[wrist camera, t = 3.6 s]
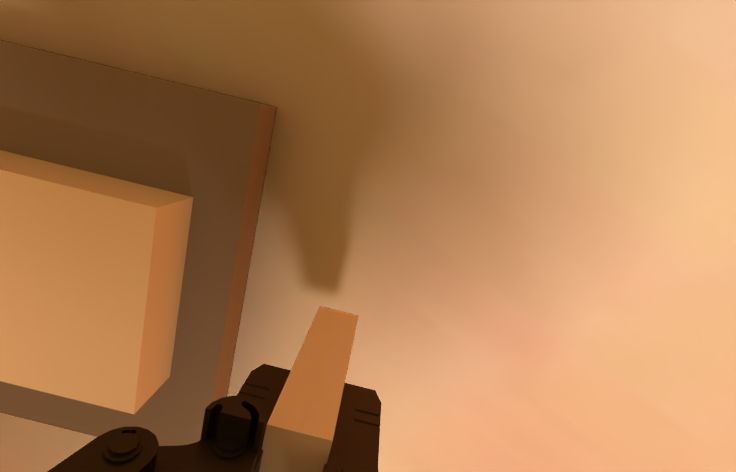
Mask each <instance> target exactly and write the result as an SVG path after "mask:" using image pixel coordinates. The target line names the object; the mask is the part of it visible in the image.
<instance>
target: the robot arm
mask: <svg viewBox="0 0 736 472" xmlns="http://www.w3.org/2000/svg"><path fill="white" fill-rule="evenodd" d="M357 320H358V316H357V315H353V314H349V313H345V312H341V311H337V310H333V309H329V308H325V307H321V306H320V307H319V309H318V311H317V314H316V316H315V318H314V320H313V322H312V325H311V327H310V329H309V331H308V334H307V336H306V338H305V340H304V343H303V345H302V347H301V349H300V351H299V354H298V356H297V358H296V360H295V363H294V365H293V367H292V369H291V371H290V370H286V369H282V368H278V367H274V366H270V365H266V364H263V365H261V366H259V367H258V368H256V369H255V370H253V371H251V373H250V375H249V376H248V378H247V380H246V381H245V383H244V384H243V386H242V388H241V389H240V391H239V394H237V396H229V397H222V398H220V399H218V400H215V401H213V402H212V403H211V404H210V405H209V406H207V407H206V408H205V414H204V420H203V426H202V433H201V439H200V441H198V442H195V443H192V444H188V445H178V446H159V443H158V440H157V437H156V435H155V434H153V433H152V432H151V431H150V430H148V429H145V428H141V427H121V428H117V429H113V430H110V431H108V432H106V433H104V434H102V435H100V436H98V437H97V438H96V439H94V440H93V441H91V442H90V443H88V444H87V445H85V446H84V447H83V448H81V449H80V450H78V451H77V452H75V453H74V454H72V455H71V456H70V457H68V458H67V459H65V460H64V461H62V462H61V463H59V464H58V465H57V466H55V467H54V468H52V469H51V470H49V471H48V472H378V452H379V433H380V428H379V427H380V414H381V402H380V400H379V398H378V396H377V393H376V391H375V390H371V389H367V388H363V387H359V386H355V385H351V384H347V383H345V378H346V374H347V369H348V364H349V359H350V354H351V349H352V344H353V340H354V335H355V330H356V325H357Z"/></svg>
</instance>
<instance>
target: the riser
mask: <svg viewBox="0 0 736 472" xmlns="http://www.w3.org/2000/svg"><path fill="white" fill-rule="evenodd" d="M276 108H277V107H274V106H270V105H266V104H262V103H258V102H254V101H250V100H246V99H242V98H238V97H234V96H229V95H225V94H221V93H217V92H213V91H209V90H205V89H201V88H196V87H192V86H188V85H184V84H180V83H176V82H172V81H167V80H163V79H159V78H155V77H151V76H147V75H143V74H139V73H134V72H130V71H126V70H122V69H118V68H114V67H110V66H106V65H101V64H97V63H93V62H89V61H85V60H81V59H77V58H72V57H68V56H64V55H60V54H56V53H52V52H48V51H44V50H39V49H35V48H31V47H27V46H23V45H19V44H15V43H11V42H6V41H2V40H0V150H2V151H6V152H10V153H14V154H18V155H22V156H27V157H31V158H35V159H39V160H43V161H47V162H51V163H55V164H59V165H63V166H68V167H72V168H76V169H80V170H84V171H88V172H92V173H96V174H100V175H104V176H108V177H113V178H117V179H121V180H125V181H129V182H133V183H137V184H141V185H145V186H149V187H154V188H158V189H162V190H166V191H170V192H174V193H178V194H182V195H186V196H190V197H193V204H192V211H191V219H190V227H189V234H188V242H187V250H186V257H185V265H184V273H183V280H182V288H181V296H180V303H179V311H178V319H177V326H176V334H175V342H174V349H173V357H172V364H171V372H170V377H169V378H168V379H167V380H166V381H165V382H164V383H163V384H162V385H161V386H160V388H159V389H158V390H157V391H156V392H155V393H154V394H153V395H152V396H151V397H150V398H149V399H148V400H147V401H146V402H145V403H144V404H143V405H142V407H141V408H140V409H139V410H138V411H137V412H136V413H135V414H130V413H126V412H122V411H118V410H114V409H110V408H106V407H102V406H98V405H94V404H90V403H86V402H82V401H78V400H74V399H70V398H66V397H62V396H58V395H54V394H50V393H46V392H42V391H38V390H34V389H30V388H26V387H22V386H18V385H14V384H10V383H6V382H2V381H0V412H1V413H5V414H9V415H13V416H17V417H21V418H25V419H29V420H33V421H37V422H41V423H45V424H49V425H53V426H57V427H61V428H65V429H69V430H73V431H77V432H81V433H85V434H89V435H93V436H97V437H98V436H100V435H102V434H104V433H106V432H108V431H110V430H113V429H117V428H121V427H141V428H145V429H148V430H150V431H151V432H152V433H153V434H155V435H156V437H157V440H158V443H159V446H178V445H188V444H192V443H195V442H198V441H200V439H201V433H202V426H203V420H204V414H205V408H206V407H207V406H209V405H210V404H211V403H212V402H213V401H215V400H218V399H220V398H222V397H227V393H228V387H229V382H230V376H231V370H232V364H233V358H234V353H235V347H236V341H237V335H238V329H239V323H240V318H241V312H242V306H243V300H244V294H245V288H246V283H247V277H248V271H249V265H250V259H251V254H252V248H253V242H254V236H255V230H256V224H257V219H258V213H259V207H260V201H261V195H262V189H263V184H264V178H265V172H266V166H267V160H268V155H269V149H270V143H271V137H272V131H273V125H274V120H275V114H276Z"/></svg>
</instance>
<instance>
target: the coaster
mask: <svg viewBox="0 0 736 472" xmlns="http://www.w3.org/2000/svg"><path fill="white" fill-rule="evenodd" d="M192 204H193V197H190V196H186V195H182V194H178V193H174V192H170V191H166V190H162V189H158V188H154V187H149V186H145V185H141V184H137V183H133V182H129V181H125V180H121V179H117V178H113V177H108V176H104V175H100V174H96V173H92V172H88V171H84V170H80V169H76V168H72V167H68V166H63V165H59V164H55V163H51V162H47V161H43V160H39V159H35V158H31V157H27V156H22V155H18V154H14V153H10V152H6V151H2V150H0V381H2V382H6V383H10V384H14V385H18V386H22V387H26V388H30V389H34V390H38V391H42V392H46V393H50V394H54V395H58V396H62V397H66V398H70V399H74V400H78V401H82V402H86V403H90V404H94V405H98V406H102V407H106V408H110V409H114V410H118V411H122V412H126V413H130V414H135V413H136V412H137V411H138V410H139V409H140V408H141V407H142V405H143V404H144V403H145V402H146V401H147V400H148V399H149V398H150V397H151V396H152V395H153V394H154V393H155V392H156V391H157V390H158V389H159V388H160V386H161V385H162V384H163V383H164V382H165V381H166V380H167V379H168V378H169V377H170V372H171V364H172V357H173V349H174V342H175V334H176V326H177V319H178V311H179V303H180V296H181V288H182V280H183V273H184V265H185V257H186V250H187V242H188V234H189V227H190V219H191V211H192Z"/></svg>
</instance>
